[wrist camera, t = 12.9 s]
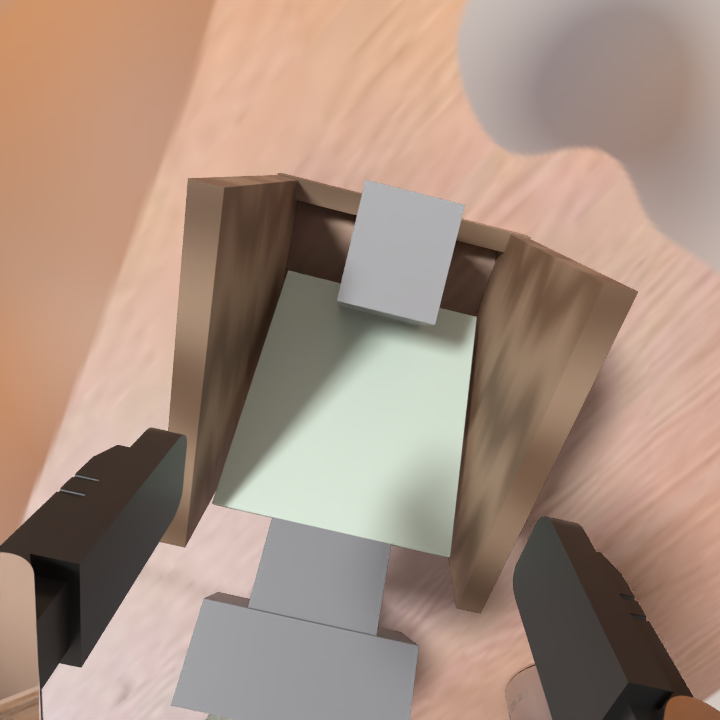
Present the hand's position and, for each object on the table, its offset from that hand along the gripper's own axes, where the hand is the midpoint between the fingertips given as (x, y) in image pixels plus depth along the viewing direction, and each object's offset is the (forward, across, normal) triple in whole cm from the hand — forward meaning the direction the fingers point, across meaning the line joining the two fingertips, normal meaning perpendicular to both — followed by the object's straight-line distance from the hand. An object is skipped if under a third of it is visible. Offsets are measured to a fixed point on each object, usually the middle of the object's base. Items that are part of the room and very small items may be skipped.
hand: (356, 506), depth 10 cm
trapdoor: (+14, 0, +10) cm, 17 cm away
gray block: (+16, 0, 0) cm, 16 cm away
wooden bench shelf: (+21, 0, +3) cm, 22 cm away
